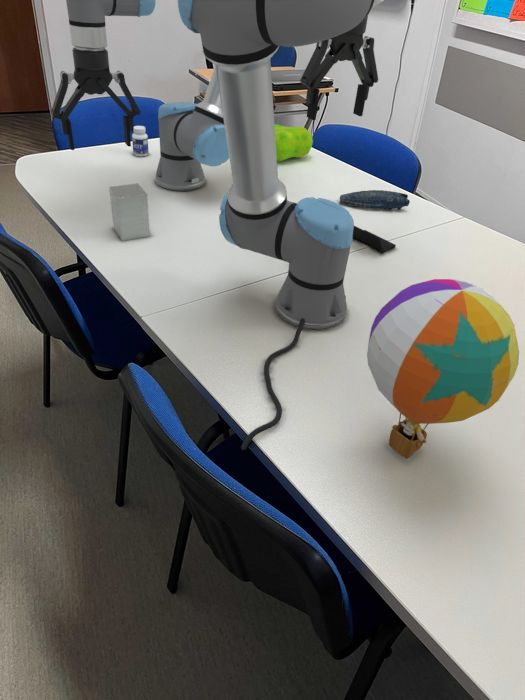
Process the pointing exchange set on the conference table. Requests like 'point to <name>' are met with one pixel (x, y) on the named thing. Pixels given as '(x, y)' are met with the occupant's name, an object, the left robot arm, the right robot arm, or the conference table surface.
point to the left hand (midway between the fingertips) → (100, 146)
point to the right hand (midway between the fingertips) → (334, 116)
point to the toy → (440, 356)
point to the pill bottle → (140, 141)
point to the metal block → (129, 211)
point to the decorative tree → (292, 142)
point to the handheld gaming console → (372, 240)
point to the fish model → (376, 199)
